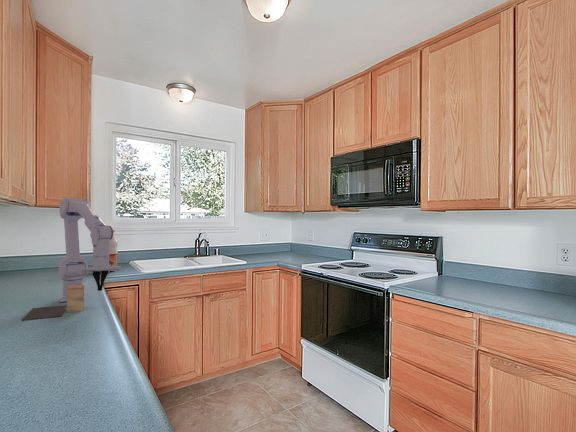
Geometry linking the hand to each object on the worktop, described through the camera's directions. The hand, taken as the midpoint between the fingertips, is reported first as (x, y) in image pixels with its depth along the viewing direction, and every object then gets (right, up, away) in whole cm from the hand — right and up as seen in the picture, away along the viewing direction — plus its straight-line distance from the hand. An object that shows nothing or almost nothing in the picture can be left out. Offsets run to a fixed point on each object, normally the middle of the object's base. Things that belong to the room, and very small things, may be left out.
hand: (100, 290), depth 125 cm
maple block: (-7, -7, -4) cm, 11 cm away
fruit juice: (-46, -8, +87) cm, 99 cm away
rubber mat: (-15, -6, -8) cm, 18 cm away
